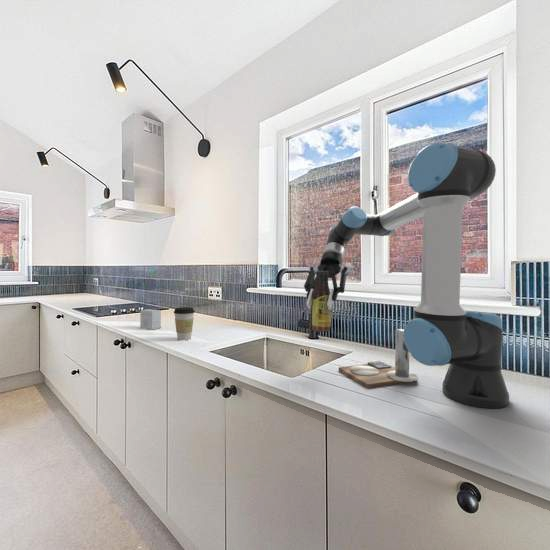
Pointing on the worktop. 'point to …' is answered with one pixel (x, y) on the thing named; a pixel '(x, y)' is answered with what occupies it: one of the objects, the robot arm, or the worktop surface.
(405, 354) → the peg
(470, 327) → the robot arm
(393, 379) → the board
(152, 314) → the skincare box
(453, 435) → the worktop surface
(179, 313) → the coffee cup
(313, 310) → the sauce bottle
